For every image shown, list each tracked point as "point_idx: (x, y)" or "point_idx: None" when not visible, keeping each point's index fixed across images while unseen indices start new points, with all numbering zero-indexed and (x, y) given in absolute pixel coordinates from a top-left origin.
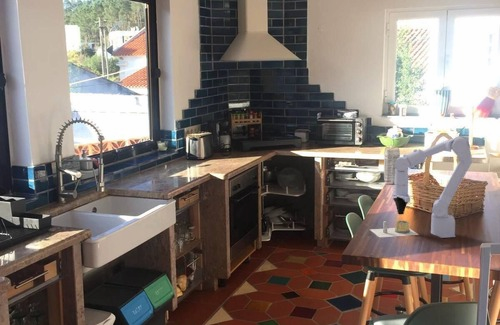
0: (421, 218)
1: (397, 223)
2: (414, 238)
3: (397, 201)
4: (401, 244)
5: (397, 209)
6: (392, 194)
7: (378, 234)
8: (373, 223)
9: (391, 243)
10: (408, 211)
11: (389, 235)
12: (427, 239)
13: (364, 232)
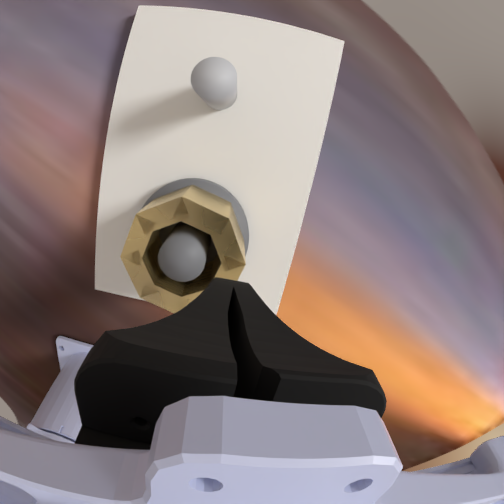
0: None
1: (173, 199)
2: (81, 240)
3: (108, 337)
4: (18, 105)
5: (243, 298)
6: (318, 458)
7: (200, 26)
8: (468, 196)
9: (52, 55)
10: (463, 425)
11: (143, 87)
12: (53, 294)
13: (336, 9)
